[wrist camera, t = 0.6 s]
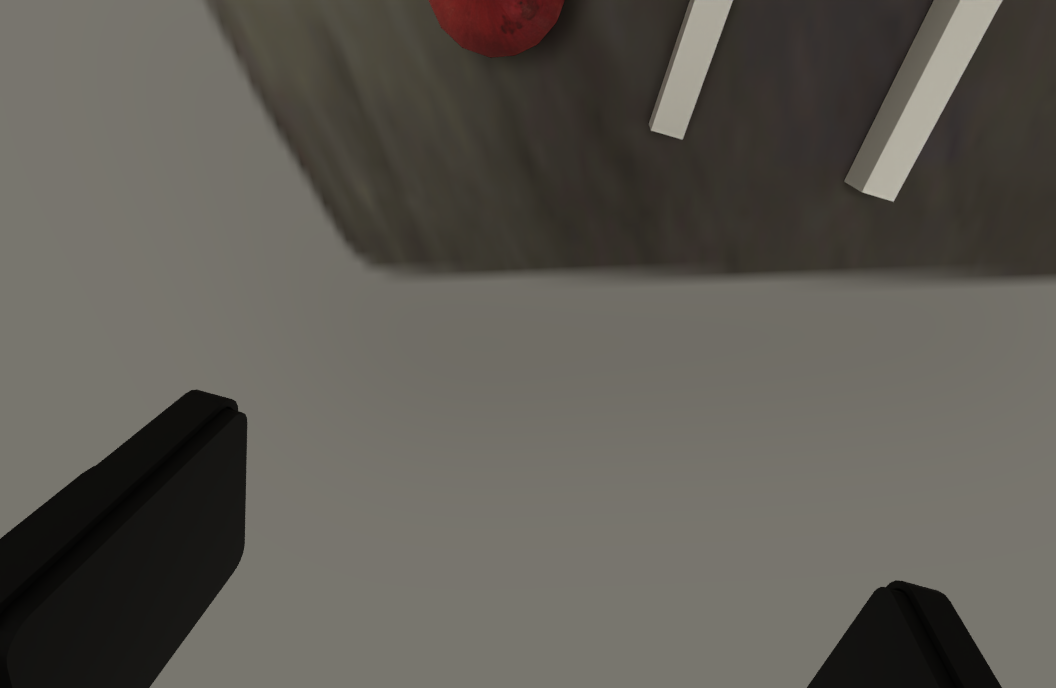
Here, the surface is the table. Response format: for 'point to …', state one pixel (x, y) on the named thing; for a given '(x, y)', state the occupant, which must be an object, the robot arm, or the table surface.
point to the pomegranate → (497, 23)
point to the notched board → (903, 114)
